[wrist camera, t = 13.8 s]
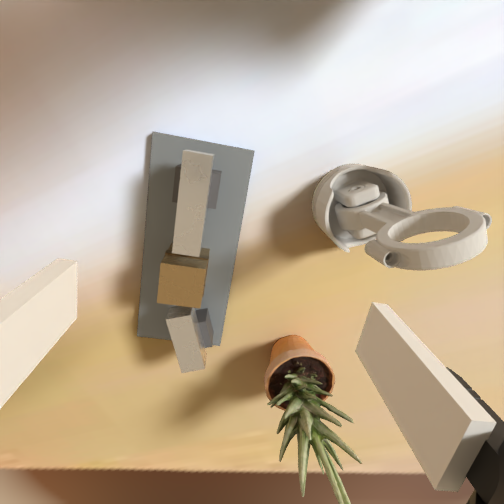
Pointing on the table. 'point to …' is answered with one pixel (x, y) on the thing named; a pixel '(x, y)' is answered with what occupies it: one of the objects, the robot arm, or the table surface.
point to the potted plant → (306, 406)
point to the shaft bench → (214, 238)
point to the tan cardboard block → (182, 278)
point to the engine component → (393, 220)
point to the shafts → (190, 253)
